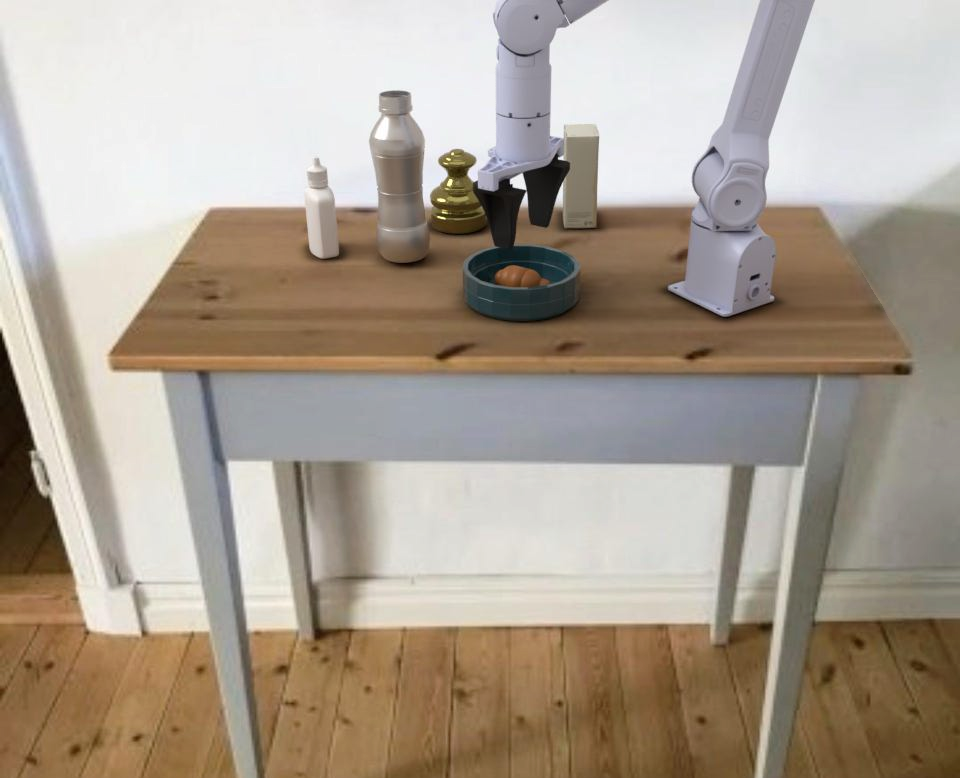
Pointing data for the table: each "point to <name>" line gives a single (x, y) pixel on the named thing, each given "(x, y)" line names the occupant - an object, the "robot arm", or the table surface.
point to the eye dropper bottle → (320, 213)
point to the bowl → (521, 300)
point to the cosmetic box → (580, 176)
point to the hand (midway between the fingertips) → (522, 236)
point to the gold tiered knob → (456, 196)
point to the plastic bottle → (399, 180)
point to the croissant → (519, 277)
